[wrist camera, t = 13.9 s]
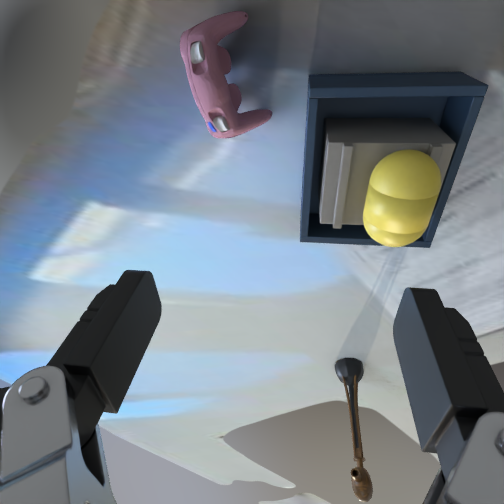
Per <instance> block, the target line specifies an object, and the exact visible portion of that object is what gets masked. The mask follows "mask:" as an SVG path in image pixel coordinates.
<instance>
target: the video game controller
mask: <svg viewBox="0 0 504 504" xmlns="http://www.w3.org/2000/svg"><path fill="white" fill-rule="evenodd" d="M247 20H248V14H247V13H246V12H243V11H234V12H228V13H224V14H221V15H217V16H214V17H212V18H209V19H207V20H205V21H203V22H202V23H200V24H198V25H196V26H194V27H192V28H190V29H188V30H186V31H185V32H183V34H182V36H181V39H180V51H181V56H182V58H183V60H184V62H185V66H186V71H187V76H188V80H189V84H190V87H191V90H192V93H193V96H194V99H195V101H196V103H197V106H198V108H199V110H200V112H201V114H202V116H203V117H204V119H205V121H206V126H207V128H208V130H209V132H210V133H211V135H212V136H214V137H215V138H231V137H235V136H238V135H241V134H243V133H245V132H248V131H250V130H252V129H254V128H256V127H258V126H260V125H262V124H264V123H265V122H267V121H268V120H269V119H270V118H271V116H272V111H271V110H269V109H259V110H253V111H248V112H244V113H241V114H240V113H237V111H238V108H239V106H240V104H241V100H242V97H241V92H240V90H239V88H238V86H237V85H235V84H228V83H227V81H226V78H225V76H224V75H225V74H228V73H229V72H230V70H231V58H230V55H229V53H228V51H227V50H226V49H225V48H223V47H220V46H218V45H217V44H218V42H219V41H220V40H221V39H223V38H224V37H225V36H227V35H228V34H230V33H232V32H234V31H236V30H237V29H239V28H241V27H242V26H243V25H244V24H245V23H246V21H247Z"/></svg>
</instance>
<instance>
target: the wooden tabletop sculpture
mask: <svg viewBox="0 0 504 504" xmlns="http://www.w3.org/2000/svg"><path fill="white" fill-rule="evenodd" d="M335 371H336V374H337V376H338V378H339V379H340V381H341V382H342V383H344V386H345V391H346V396H347V401H348V407H349V413H350V422H351V430H352V440H353V450H354V461H357V467H355V468H354V469H352V470H351V475H352V487H353V491H354V493H355V495H356V497H357V498H358V499H359V500H360V501H361V502H368V501H369V500H370V499H371V498H372V492H373V488H372V482H371V479H370V475H369V474H368V472H367V470H366V469H365V468H363V462H364V461H365V458H363V451H362V442H361V434H360V426H359V415H358V395H357V392H358V382H359V381H360V380H361V379H362V377H363V373H364V370H363V365H362V363H361V361H359V360H356V359H354V358H344V359H341V360H338V361H337V363H336V364H335ZM347 385H348V386H349V393H348V388H347ZM349 394H350V397H349Z"/></svg>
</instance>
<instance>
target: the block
mask: <svg viewBox="0 0 504 504" xmlns="http://www.w3.org/2000/svg"><path fill="white" fill-rule="evenodd" d="M455 145H456V143H455V142H454V141H453V140H452V139H451V138H450V137H449V136H448V135H447V134H446V133H445V132H444V131H443V130H442V129H441V128H440V127H439V126H438V125H437V124H436V123H435V122H434V121H433V120H432V119H431V118H325V120H324V131H323V142H322V153H321V164H320V175H319V186H318V197H319V214H320V223H325V224H333V228H339V229H341V228H342V224H352V225H364V223H363V211H364V206H365V201H366V195H367V190H368V185H369V180H370V177H371V174H372V172H373V170H374V168H375V166H376V165H377V164H378V163H379V162H380V161H381V160H382V159H383V158H384V157H386V156H387V155H389V154H391V153H393V152H396V151H400V150H406V149H410V150H417V151H421V152H423V153H425V154H427V155H429V156H430V157H431V158H432V159H433V160H434V161H435V162H436V164H437V165H438V167H439V169H440V173H441V186H442V183H443V180H444V177H445V175H446V172H447V169H448V166H449V163H450V160H451V157H452V154H453V151H454V148H455ZM440 189H441V188H440ZM434 207H435V206H434ZM433 210H434V209H433ZM432 213H433V212H432ZM431 216H432V215H431ZM430 219H431V218H430ZM429 222H430V221H429ZM427 227H428V226H427Z"/></svg>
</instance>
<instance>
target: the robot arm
mask: <svg viewBox="0 0 504 504" xmlns="http://www.w3.org/2000/svg"><path fill="white" fill-rule="evenodd" d="M160 317H161V301H160V298H159V295H158V291H157V288H156V285H155V281H154V278H153V275H152V273H151V272H150V271H138V270H126V271H125V272H124V273H123V274H122V276H121V277H120V279H119V280H118V282H117V283H116V285H111V284H110V285H109V286H107V287H106V288H105V289H104V290H102V291H101V292H100V293H99V294H97V295H96V296H95V298H94V299H93V301H92V302H91V303H90V305H89V306H88V308H87V311H85V312H84V313H83V315H82V316H81V318H80V321H79V322H77V323H76V325H75V326H74V327H73V329H72V330H71V332H70V333H69V335H68V336H67V337H66V339H65V340H64V342H63V343H62V344H61V346H60V347H59V349H58V350H57V352H56V353H55V354H54V356H53V357H52V359H51V360H50V361H49V363H48V364H47V365H46V366H43V367H39V368H36V369H33V370H31V371H29V372H27V373H26V374H24V375H23V376H21V377H20V378H19V379H17V380H16V381H15V382H14V383H13V384H12V386H10V387H5V388H0V504H117V503H116V500H115V498H114V496H113V493H112V489H111V485H110V480H109V475H108V470H107V465H106V459H105V454H104V449H103V443H102V438H101V434H100V428H99V425H98V421H99V419H100V417H101V415H102V413H103V412H109V413H118V410H119V408H120V406H121V404H122V402H123V399H124V397H125V395H126V393H127V391H128V389H129V386H130V384H131V382H132V380H133V378H134V375H135V373H136V371H137V369H138V367H139V364H140V362H141V360H142V358H143V356H144V353H145V351H146V349H147V347H148V345H149V343H150V340H151V338H152V336H153V334H154V332H155V329H156V327H157V325H158V323H159V320H160ZM393 337H394V343H395V347H396V351H397V354H398V358H399V362H400V366H401V370H402V374H403V378H404V382H405V386H406V390H407V394H408V398H409V402H410V406H411V410H412V414H413V418H414V422H415V426H416V430H417V434H418V438H419V442H420V446H421V449H422V452H430V453H437V454H438V458H439V461H440V465H441V468H440V469H439V471H438V473H437V475H436V477H435V479H434V481H433V483H432V485H431V487H430V489H429V491H428V493H427V496H426V498H425V500H424V502H423V504H504V393H503V390H502V388H501V386H500V384H499V382H498V380H497V378H496V376H495V374H494V372H493V370H492V368H491V366H490V364H489V362H488V360H487V358H486V356H484V352H483V350H482V348H481V346H480V344H479V342H477V338H476V336H475V334H474V332H473V330H472V328H471V326H470V324H469V322H468V321H467V320H466V319H465V318H464V317H463V316H462V315H461V314H460V313H459V312H458V311H457V310H456V309H455V308H444V306H443V303H442V301H441V299H440V297H439V294H438V292H437V291H436V290H435V289H425V288H406V289H405V291H404V293H403V296H402V299H401V302H400V305H399V308H398V311H397V314H396V317H395V320H394V325H393Z"/></svg>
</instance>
